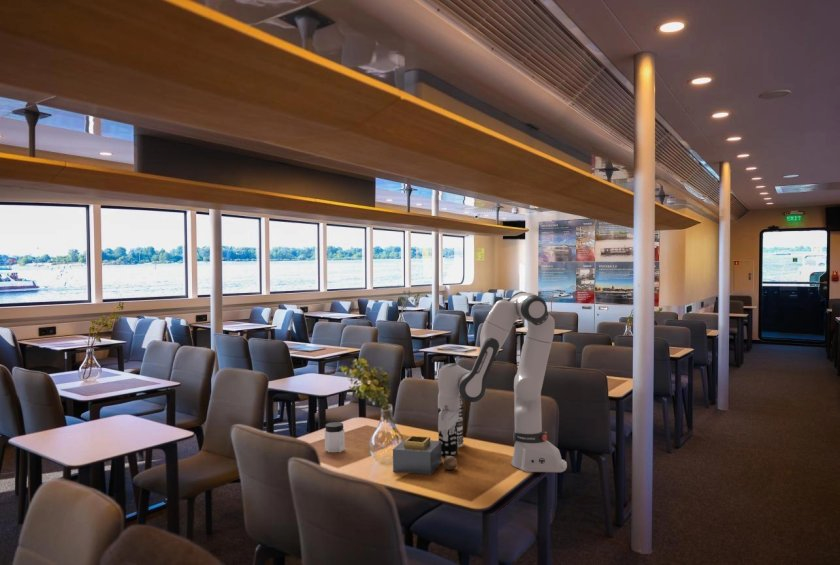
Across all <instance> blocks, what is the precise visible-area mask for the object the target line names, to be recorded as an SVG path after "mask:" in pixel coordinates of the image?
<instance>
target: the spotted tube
mask: <svg viewBox="0 0 840 565" xmlns="http://www.w3.org/2000/svg"><path fill="white" fill-rule="evenodd" d="M440 411H441V409H440V408H438V409H437V418H438V417H439V413H440ZM437 430H438V429H437ZM449 430H450V429H449ZM449 430H448V432H447V433H448V440H447V441H444V440H443V435H442V432H441V431H439V430H438V441H441V457H442V458H446V457H447V456H453V457H456V456H458V454H459V452H458V445H457V422H456V423H455V427H454V434H449Z"/></svg>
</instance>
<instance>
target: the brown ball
mask: <svg viewBox="0 0 840 565" xmlns="http://www.w3.org/2000/svg"><path fill="white" fill-rule="evenodd" d="M457 465H458V461H457V458H456V456H454V457H453V456H447V457H444V459H443V466H444V468H445V469H446V470H448V471H451V470H452V471H453V470H454V469H455V468H457Z"/></svg>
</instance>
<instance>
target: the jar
mask: <svg viewBox="0 0 840 565" xmlns="http://www.w3.org/2000/svg"><path fill="white" fill-rule="evenodd" d="M324 428H325V429H324V451H325V450H326V452H327V451H328V452H327V453H329V452H339V453H342V452H343V451H345V450H346V447H345V446H346V442H345V440H346V439H345V429H344V423H342V422H339V421H336V422H335V421H334V422H328V423H326V424H325V427H324Z"/></svg>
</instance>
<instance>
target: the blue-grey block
mask: <svg viewBox="0 0 840 565" xmlns="http://www.w3.org/2000/svg"><path fill="white" fill-rule="evenodd" d="M442 459H443V457H442V456H441V441H439V440H431V437H430V436H422V435H420V436H419V435H410V436H409V437H408V438H405V439H403V440H402V441H401V442H400V443H399V444H397V446H395V447H393V449H392V472H397V473H406V474H417V475H418V474H419V475H428V476H431V475H432V474H433V473H434V471H435V470H437V468H438V467H439V466H440V465H441V464H442V461H443V460H442Z"/></svg>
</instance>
